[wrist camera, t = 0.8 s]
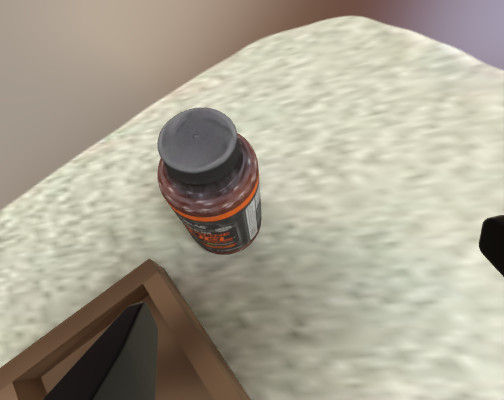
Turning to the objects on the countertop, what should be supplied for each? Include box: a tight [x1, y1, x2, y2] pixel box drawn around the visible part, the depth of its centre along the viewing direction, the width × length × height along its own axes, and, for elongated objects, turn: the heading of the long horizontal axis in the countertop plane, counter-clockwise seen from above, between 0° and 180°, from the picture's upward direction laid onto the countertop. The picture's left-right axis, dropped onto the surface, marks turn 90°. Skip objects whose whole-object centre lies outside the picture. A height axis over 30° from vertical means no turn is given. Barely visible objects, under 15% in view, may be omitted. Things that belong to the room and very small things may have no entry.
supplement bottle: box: [158, 108, 261, 254], centre depth 19 cm, size 6×6×11 cm
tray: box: [0, 259, 250, 400], centre depth 18 cm, size 11×11×3 cm
